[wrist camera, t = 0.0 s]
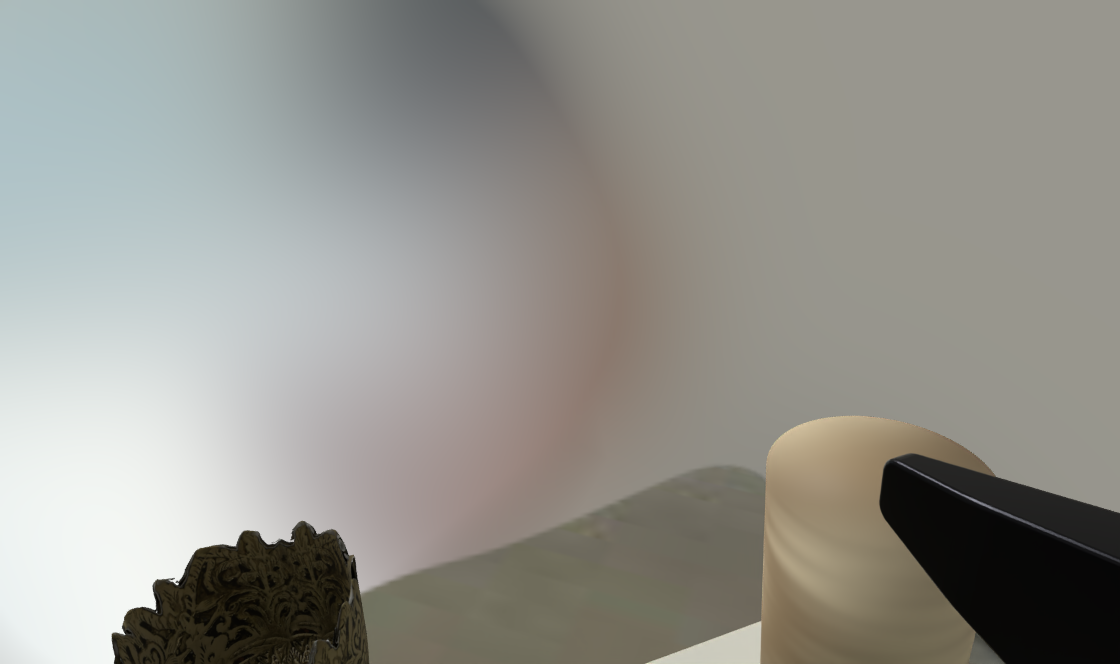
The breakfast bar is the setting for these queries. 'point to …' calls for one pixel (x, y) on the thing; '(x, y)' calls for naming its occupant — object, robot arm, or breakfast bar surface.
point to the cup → (254, 607)
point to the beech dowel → (850, 551)
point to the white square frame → (722, 649)
